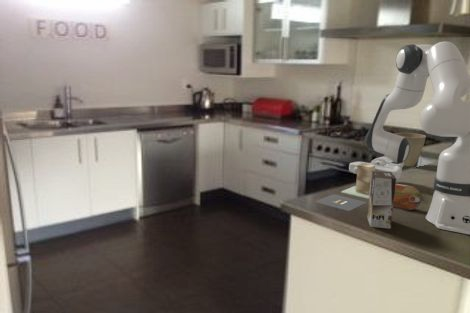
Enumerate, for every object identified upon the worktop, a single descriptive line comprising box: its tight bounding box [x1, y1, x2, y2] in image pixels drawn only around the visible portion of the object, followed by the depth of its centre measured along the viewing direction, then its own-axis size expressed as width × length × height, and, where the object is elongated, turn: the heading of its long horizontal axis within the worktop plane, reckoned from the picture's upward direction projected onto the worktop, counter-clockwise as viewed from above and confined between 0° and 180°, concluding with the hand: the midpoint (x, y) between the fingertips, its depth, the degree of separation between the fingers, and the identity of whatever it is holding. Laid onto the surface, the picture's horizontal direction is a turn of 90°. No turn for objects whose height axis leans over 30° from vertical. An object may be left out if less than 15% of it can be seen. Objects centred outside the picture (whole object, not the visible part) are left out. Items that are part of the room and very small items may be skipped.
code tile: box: [314, 193, 368, 212], centre depth 152 cm, size 14×14×1 cm
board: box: [340, 185, 369, 200], centre depth 163 cm, size 14×12×1 cm
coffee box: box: [366, 171, 397, 230], centre depth 130 cm, size 9×6×16 cm
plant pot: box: [395, 132, 427, 167], centre depth 214 cm, size 15×15×16 cm
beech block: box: [355, 163, 376, 195], centre depth 162 cm, size 5×5×11 cm
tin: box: [393, 183, 423, 211], centre depth 147 cm, size 15×3×8 cm, turn 57°
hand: (365, 173), depth 162 cm, fingers open, 8 cm apart
